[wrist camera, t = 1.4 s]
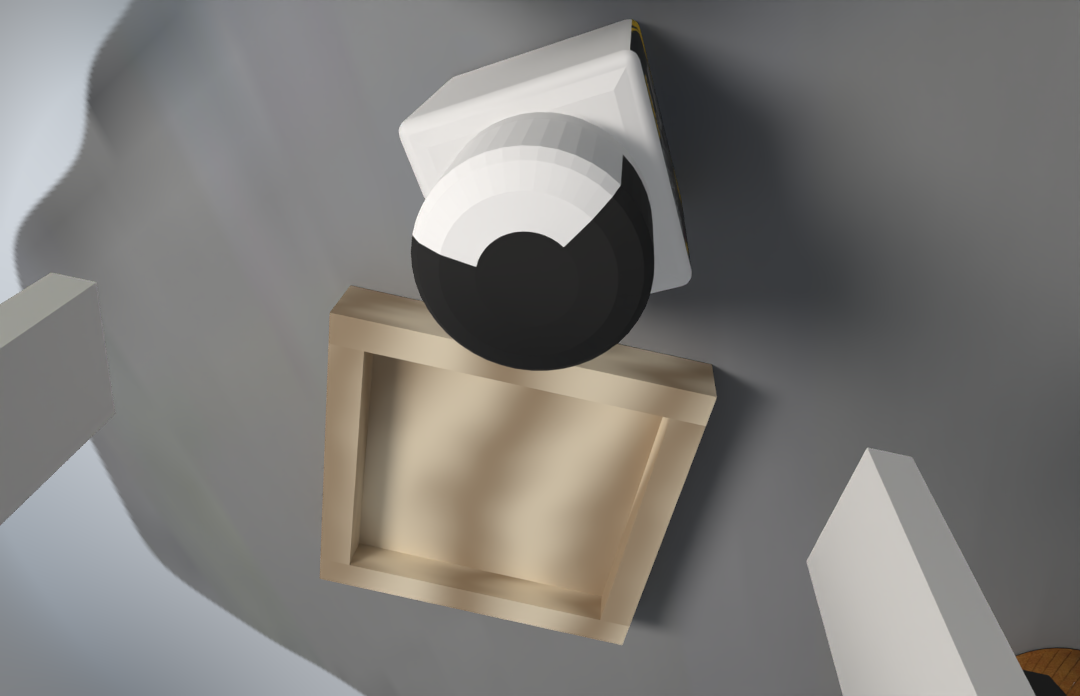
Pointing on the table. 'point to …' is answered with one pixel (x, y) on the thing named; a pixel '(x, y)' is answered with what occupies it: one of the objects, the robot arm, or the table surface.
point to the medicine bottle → (546, 201)
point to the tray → (500, 470)
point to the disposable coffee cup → (1055, 667)
